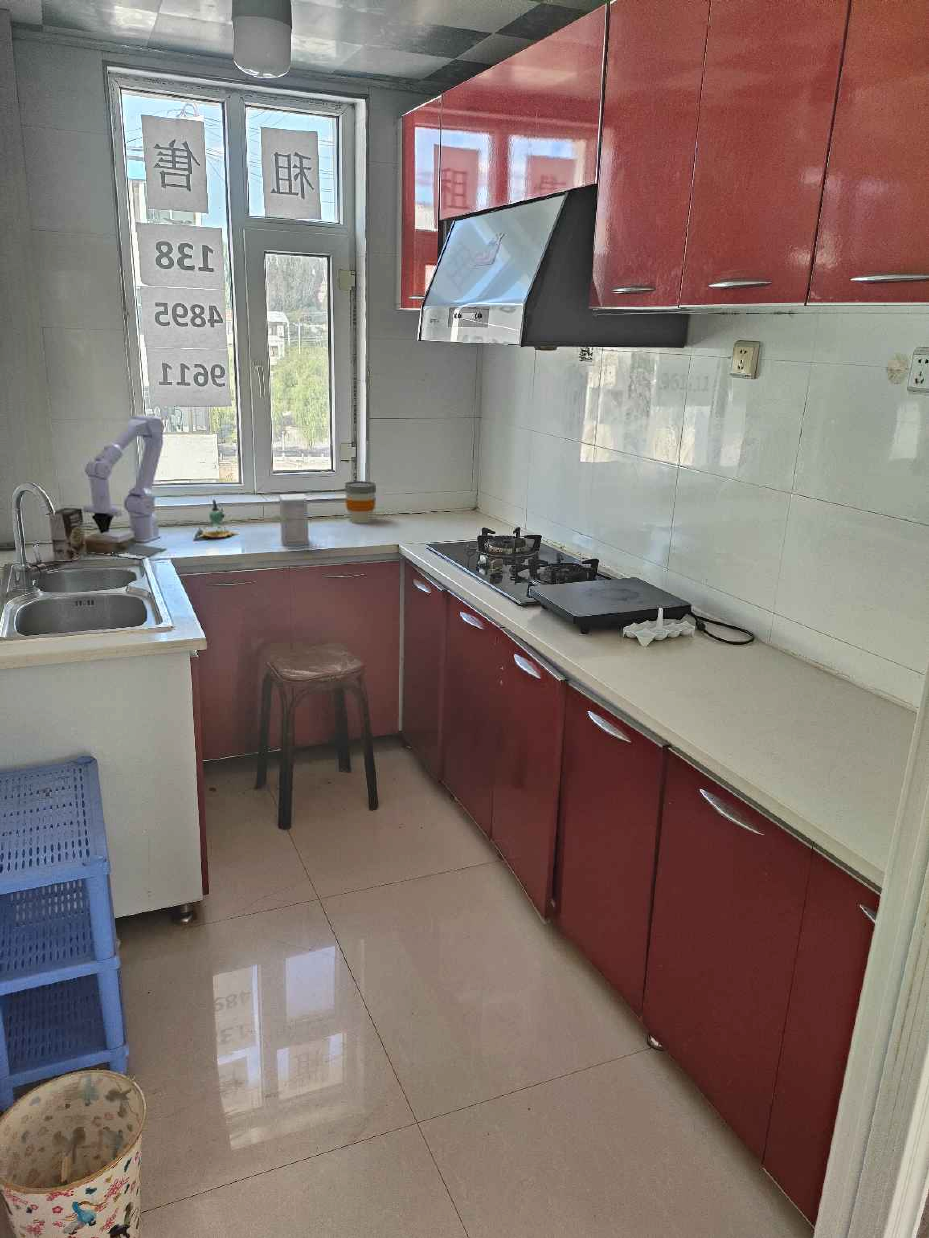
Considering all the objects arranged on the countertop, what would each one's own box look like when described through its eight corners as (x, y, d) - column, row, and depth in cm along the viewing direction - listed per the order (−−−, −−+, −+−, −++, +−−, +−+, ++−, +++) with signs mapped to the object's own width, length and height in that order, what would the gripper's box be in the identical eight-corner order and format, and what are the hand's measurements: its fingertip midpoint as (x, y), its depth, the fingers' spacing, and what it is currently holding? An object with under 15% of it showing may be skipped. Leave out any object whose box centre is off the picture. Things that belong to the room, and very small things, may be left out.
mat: (135, 545, 311) (135, 544, 311) (166, 550, 307) (166, 548, 307) (108, 555, 298) (108, 554, 298) (140, 560, 295) (140, 558, 294)
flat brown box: (106, 541, 315) (105, 530, 313) (134, 545, 311) (133, 534, 310) (78, 550, 302) (77, 539, 301) (107, 555, 298) (106, 543, 297)
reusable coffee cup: (343, 517, 362) (342, 481, 357) (373, 517, 365) (373, 480, 360) (346, 524, 351) (346, 487, 346) (378, 524, 353) (378, 486, 348)
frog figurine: (186, 536, 326) (187, 496, 322) (233, 536, 336) (235, 497, 332) (194, 542, 318) (195, 501, 314) (242, 542, 328) (244, 502, 324)
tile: (115, 534, 308) (114, 529, 308) (134, 537, 306) (133, 531, 305) (99, 539, 301) (98, 534, 301) (118, 542, 299) (118, 536, 298)
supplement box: (306, 538, 329) (305, 493, 323) (309, 544, 320) (308, 499, 315) (280, 539, 326) (278, 494, 320) (282, 545, 318) (280, 499, 312)
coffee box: (71, 562, 289) (65, 514, 283) (53, 561, 290) (47, 512, 285) (87, 555, 297) (82, 508, 292) (70, 553, 298) (65, 506, 293)
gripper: (74, 495, 299) (79, 535, 304) (110, 500, 295) (114, 539, 299) (89, 492, 305) (93, 530, 310) (124, 496, 301) (128, 535, 306)
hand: (104, 534), depth 305 cm, fingers closed
